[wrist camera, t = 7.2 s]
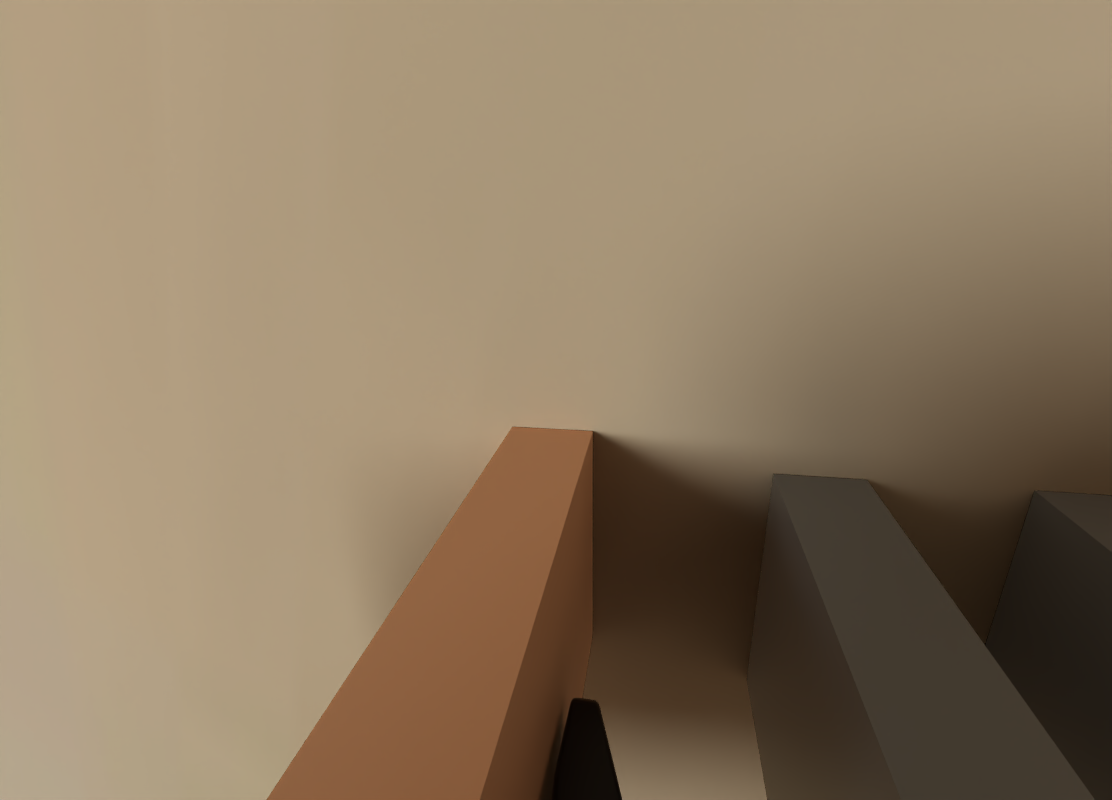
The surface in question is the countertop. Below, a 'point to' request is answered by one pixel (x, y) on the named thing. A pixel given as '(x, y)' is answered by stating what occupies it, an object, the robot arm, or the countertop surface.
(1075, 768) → the domino
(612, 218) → the countertop surface
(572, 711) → the robot arm
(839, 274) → the countertop surface
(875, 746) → the domino
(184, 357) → the countertop surface
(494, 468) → the domino
